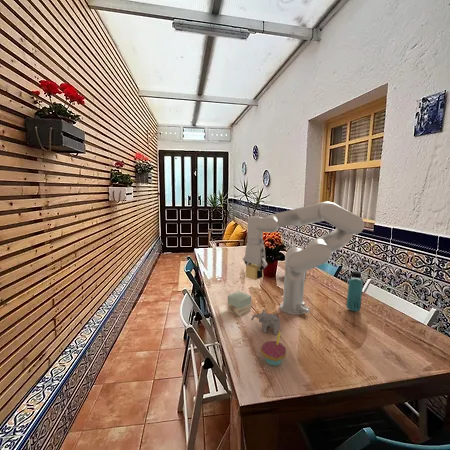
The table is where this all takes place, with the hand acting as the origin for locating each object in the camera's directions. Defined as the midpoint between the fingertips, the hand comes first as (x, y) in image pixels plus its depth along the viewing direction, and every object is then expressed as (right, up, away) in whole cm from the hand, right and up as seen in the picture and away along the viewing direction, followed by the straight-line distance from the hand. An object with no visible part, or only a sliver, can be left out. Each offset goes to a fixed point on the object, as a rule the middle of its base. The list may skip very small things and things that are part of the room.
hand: (254, 275), depth 130 cm
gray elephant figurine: (+2, -19, -21) cm, 28 cm away
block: (0, -1, 0) cm, 1 cm away
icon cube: (+34, -10, +46) cm, 58 cm away
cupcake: (+2, -22, -41) cm, 47 cm away
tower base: (-8, -17, -4) cm, 19 cm away
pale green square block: (-8, -13, -5) cm, 16 cm away
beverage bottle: (+49, -17, -2) cm, 52 cm away
